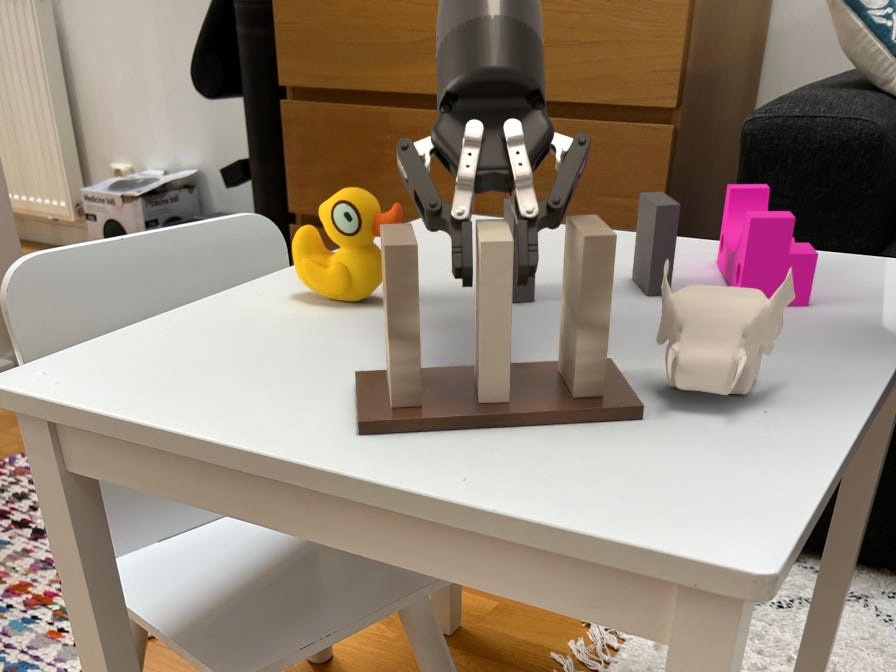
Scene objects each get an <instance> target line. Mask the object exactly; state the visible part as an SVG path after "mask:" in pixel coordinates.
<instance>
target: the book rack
mask: <svg viewBox="0 0 896 672" xmlns="http://www.w3.org/2000/svg"><path fill="white" fill-rule="evenodd" d="M564 228H565V229H564V230H565V231H564V247H563V266H562V267H563V268H562V284H561V285H562V286H561V300H560V301H561V303H560V321H559V338H558V339H559V340H558V358H557V360H545V361H543V360H542V361H526V362H525V361H524V362H523V361H522V362H511V365H510V401H509V402H506V403H479V402H478V395H477V387H476V379H475V364H470V365H469V364H467V365H451V366H450V365H449V366H448V365H447V366H432V367H431V366H430V367H429V366H428V367H422V357H421V356H422V354H421V353H422V352H421V350H422V349H421V317H420V315H421V313H420V280H419V279H420V278H419V276H420V275H419V243H418V241H417V237H416V234H415V231H414V227H413V224H412V223H411V222H406V223H405V222H403V223H402V222H401V223H400V224H381V225H380V237H379V238H380V249H381V258H382V280H383V281H382V298H383V299H382V301H383V319H384V320H383V321H384V341H385V342H384V343H385V362H386V363H385V364H386V369H374V370H373V369H372V370H371V369H370V370H356V371H354V380H355V381H354V382H355V383H354V384H355V399H356V411H357V412H356V415H357V431H358V435H373V434H374V435H375V434H392V433H393V434H394V433H409V432H410V433H413V432H427V431H429V432H430V431H431V432H432V431H446V430H447V431H448V430H466V429H483V428H485V429H486V428H499V427H502V428H503V427H518V426H519V427H520V426H521V427H522V426H537V425H538V426H540V425H555V424H573V423H575V424H577V423H590V422H591V423H592V422H609V421H610V422H611V421H627V420H628V421H629V420H642V419H644V413H645V412H644V411H645V405H644V404H643V403H644V402H642V401H641V399H640V397H639V396H638V394H637V393H636V391H635V390H634V389H633V387H632V386H631V385H630V383H629V381H628V380H627V379H626V377H625V375H623V373H622V372H621V369H620V368H619V367H618V366H617V364H616V363H615V361H614V360H613V359H612V357H608V348H609V338H610V336H609V335H610V326H611V325H610V324H611V312H612V302H613V301H612V299H613V288H614V275H615V263H616V254H617V253H616V251H617V239H618V234H617V233H616V232H615V231H614V230H613V229H612V228H611V227H610V226H609V225H608V223H606V222H605V221H604V220H603V219H602V218H601V217H600V216H599V215H598V214H579V215H577V214H576V215H567V216H565V227H564Z"/></svg>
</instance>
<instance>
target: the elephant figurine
mask: <svg viewBox="0 0 896 672" xmlns="http://www.w3.org/2000/svg"><path fill="white" fill-rule="evenodd" d="M668 269H669V260H668V259H667V260H666V262H665V265H664V277H663V283H662V286H661V288H662V295H661V316H660V322H659V327H658V329H657V334H656V341H655V342H656V343H657V344H658V346H663V345H664V344H665V343H666V342H667V341H668V344H667V346H666V350H665V353H664V354H665V355H664V363H665V364H664V365H665V371H666V377H667V378H666V379H667V384H668V386H669V387H670V388H677V389H679V390H682V391H695V392H702V393H703V392H704V393H709V394H715V395H721V396H728V395H729V394H730V395H732V394H733V395H747V394H748V393H749V392H750V391H751V390H752V387H753V384H754V382H755V379H756V377H757V375H758V373H759V370H760V366H761V363H762V360H763V356H764V355H765V356H770V355H771V354H772V353H773V351H774V348H775V342H776V341H777V339H778V338H779V336H780V334H781V332H782V330H783V327H784V313H785V310H786V308H787V307H788V306H789V305H788V304H789V303H791V302H792V301H793V300H794V299H795V293H794V288H793V277H792V267H791V268H790V269H789V272H788V274H787V277H786V280H785V281H784V282H783V284H782V285H781V286H780V287H779V288H778V289H777V290H776V292H775V293H774V294H773V295H772V297H771V298H770V299H768V298H767V297H766V296H765V294H764V293H763V292H762V291H761V290H758V289H753V288H742V287H729V286H728V285H714V284H699V283H697V284H694V283H693V284H690V285H687V286H686V287H685V288H681V289H678V290H676V291H674V292H673V291H672V288H671V289H670V286H669V284H668V281H667V274H668ZM763 354H764V355H763Z"/></svg>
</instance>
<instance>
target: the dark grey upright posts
mask: <svg viewBox="0 0 896 672" xmlns="http://www.w3.org/2000/svg"><path fill="white" fill-rule="evenodd" d="M638 198H639V199H638V208H637V209H638V210H637V219H636V220H637V221H636V222H637V223H636V230H635V243H634V253H633V264H632V275H631V280H633V282H634V283H635V284H636V285H637V286H638V287H639V288H640V289H641V290H642V291H643V292H644V294H646V295H647V296H650V297H651V296H662V288H661V286H662V283H663V277H664V265H665V262H666V260H667V259H668V260H669V269H668V274H667V281H668V284H669V286H670V289H671V290H672V281H673V273H674V264H675V257H676V247H677V238H678V231H679V222H680V214H681V204H680V203H679V202H678V201H676V200H675V199H673V198H672V197H671V196H669V195H668V194H667V193H665V192H664V191H648V192H647V191H645V192H643V191H642V192H640V193H639V197H638ZM503 219H507V221H508V224H509V227H510V230H511V234H512V237H513V240H514V254H513V291H512V304H513V303H530V302H535V297H536V296H535V295H536V275H535V276H534V277H528V282H527V286H517V285H516V254H515V236H516V227H517V224H516V220H515V215H514V212H513V211H512V209H511V205H510V200H509V198H504V199H503Z"/></svg>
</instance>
